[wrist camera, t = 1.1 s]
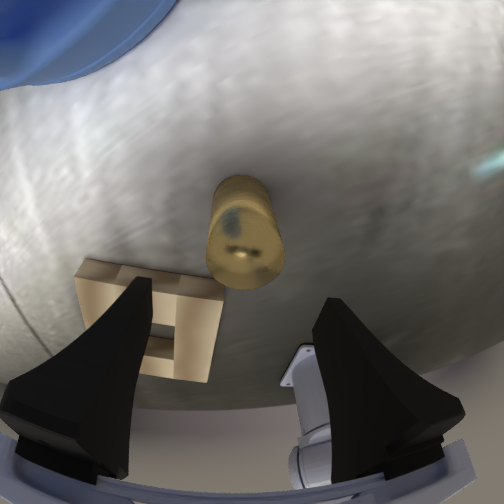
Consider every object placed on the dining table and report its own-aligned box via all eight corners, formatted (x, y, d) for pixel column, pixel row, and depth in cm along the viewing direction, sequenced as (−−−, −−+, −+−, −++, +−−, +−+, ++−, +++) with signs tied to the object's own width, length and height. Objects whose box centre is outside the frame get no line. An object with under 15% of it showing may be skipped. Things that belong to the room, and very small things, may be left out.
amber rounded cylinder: (274, 180, 19) (295, 231, 13) (261, 229, 21) (273, 293, 15) (218, 170, 18) (212, 217, 12) (209, 220, 20) (201, 284, 14)
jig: (223, 280, 23) (223, 301, 21) (207, 363, 30) (206, 382, 28) (85, 258, 21) (73, 276, 19) (102, 346, 28) (96, 363, 25)
